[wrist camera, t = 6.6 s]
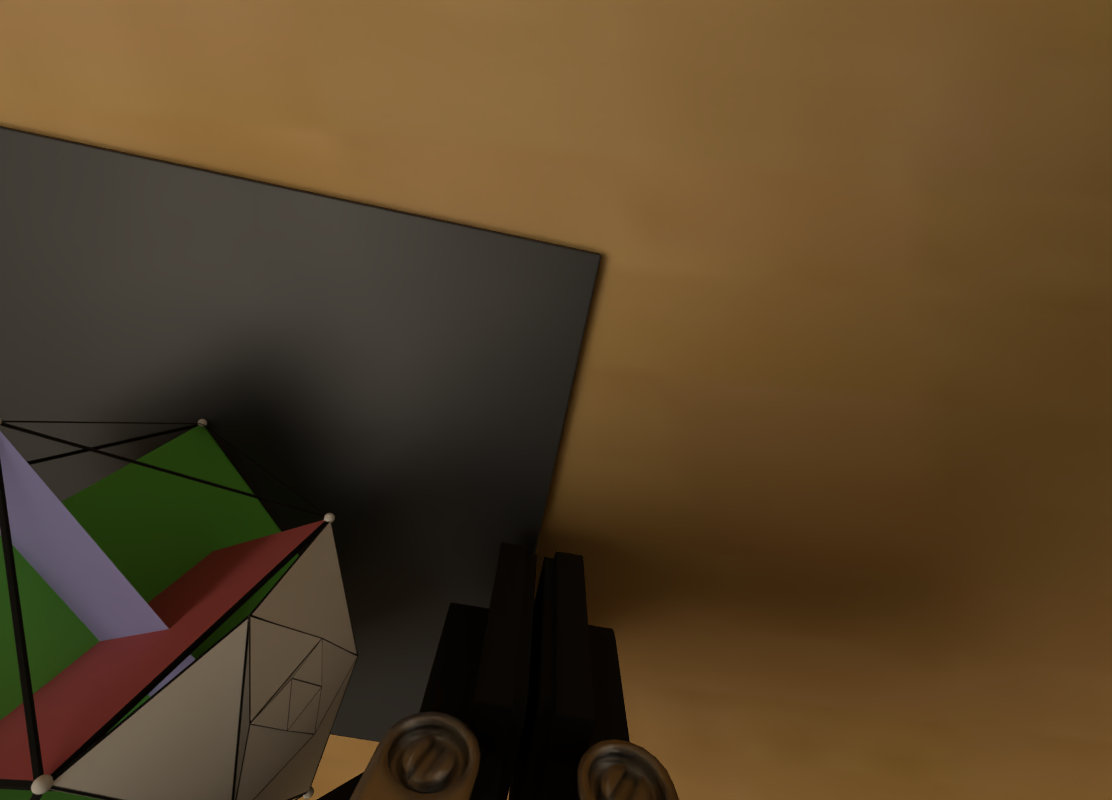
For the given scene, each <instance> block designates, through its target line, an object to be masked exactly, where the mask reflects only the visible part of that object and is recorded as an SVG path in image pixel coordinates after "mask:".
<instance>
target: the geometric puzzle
mask: <svg viewBox="0 0 1112 800" xmlns="http://www.w3.org/2000/svg"><path fill="white" fill-rule="evenodd" d="M4 422H14V423H120V424H194V425H190V426H185V427H181V428H176V429H172V430H167V431H162V432H158V433H153V434H149V435H144V436H140V437H135V438H131V439H126V440H122V441H117V442H113V443H108V444H104V445H99V446H95V447H87V446H83V445H80V444H76V443H73V442H70V441H66V440H63V439H59V438H56V437H52V436H49V435H45V434H42V433H38V432H35V431H31V430H28V429H24V428H21V427H17V426H14V425H10V424H7V423H4ZM206 425H207V421H206V420H205V419H200V420H199V421H198V423H154V422H76V421H1V419H0V426H4V427H7V428H11V429H14V430H18V431H21V432H25V433H28V434H32V435H35V436H39V437H42V438H46V439H49V440H53V441H57V442H60V443H64V444H67V445H71V446H74V447H78V448H81V450H77V451H72V452H68V453H63V454H59V455H54V456H50V457H45V458H41V459H36V460H32V461H27V462H26V461H25V459H24V458H23V457H22V456H21V455H20V453H19V452H18V451H17V450H16V449H15V448H14V446H13V445H12V444H11V443H10V442H9V441H8V439H7V438H6V437H5V436H4V435H3V434H2V432H1V431H0V800H293V799H295V798H297V799H299V798H301V797H302V796H303V797H304V798H305V799H309V798H311V797H312V795H313V793H314V789H313V788H312V787H311V785H312V782H313V780H314V777H315V774H316V771H317V769H318V766H319V763H320V760H321V758H322V755H323V752H324V749H325V747H326V744H327V741H328V738H329V736H330V733H331V730H332V727H333V724H334V722H335V719H336V716H337V713H338V711H339V708H340V705H341V702H342V700H343V697H344V694H345V691H346V689H347V686H348V683H349V680H350V678H351V675H352V672H353V669H354V667H355V664H356V661H357V658H358V652H357V647H356V641H355V636H354V631H353V626H352V621H351V616H350V611H349V606H348V601H347V596H346V591H345V586H344V581H343V576H342V571H341V566H340V561H339V556H338V551H337V546H336V541H335V536H334V531H333V526H332V522H333V521H334V519H335V516H334V515H333V514H332V513H327V514H325V513H324V512H322V511H321V510H320V509H318V508H317V507H316V506H314V505H313V504H311V503H310V502H309V501H307V500H306V499H305V498H303V497H302V496H301V495H299V494H298V493H297V492H295V491H294V490H292V489H291V488H290V487H288V486H287V485H286V484H284V483H283V482H282V481H280V480H279V479H278V478H276V477H275V476H273V475H272V474H271V473H269V472H268V471H267V470H265V469H264V468H263V467H261V466H260V465H259V464H257V463H256V462H254V461H253V460H252V459H250V458H249V457H248V456H246V455H245V454H244V453H242V452H241V451H240V450H238V449H237V448H235V447H234V446H233V445H231V444H230V443H229V442H227V441H226V440H225V439H223V438H222V437H221V436H219V435H218V434H216V433H215V432H214V431H212V430H211V429H210V428H208V427H207V426H206ZM191 428H193V429H191ZM207 428H208V429H209V430H210V431H212V432H213V433H214V434H216V435H217V436H218V437H220V438H221V439H223V440H224V441H225V442H227V443H228V444H229V445H231V446H232V447H233V448H235V449H236V450H237V451H239V452H240V453H241V454H243V455H244V456H246V457H247V458H248V459H250V460H251V461H252V462H254V463H255V464H256V465H258V466H259V467H260V468H262V469H263V470H264V471H266V472H267V473H269V474H270V475H271V476H273V477H274V478H275V479H277V480H278V481H279V482H281V483H282V484H283V485H285V486H286V487H287V488H289V489H290V490H292V491H293V492H294V493H296V494H297V495H298V496H300V497H301V498H302V499H304V500H305V501H306V502H308V503H309V504H310V505H312V506H313V507H315V508H316V509H317V510H319V511H320V512H321V513H323V514H324V515H323V514H320V513H316V512H313V511H309V510H306V509H302V508H299V507H295V506H292V505H288V504H285V503H282V502H278V501H275V500H271V499H268V498H264V497H261V496H257V495H255V493H254V492H253V491H252V489H251V488H250V487H249V485H248V484H247V483H246V481H245V480H244V478H243V477H242V476H241V474H240V473H239V472H238V470H237V469H236V468H235V466H234V465H233V463H232V462H231V461H230V459H229V458H228V457H227V455H226V454H225V452H224V451H223V450H222V448H221V447H220V446H219V444H218V443H217V442H216V440H215V439H214V437H213V436H212V435H211V433H210V432H209V431H208V429H207ZM187 429H191V430H189V431H187V432H186V433H184V434H182V435H180V436H178V437H177V438H175V439H173V440H171V441H169V442H168V443H166V444H164V445H162V446H161V447H159V448H157V449H155V450H153V451H152V452H150V453H148V454H146V455H144V456H143V457H141V458H139V459H137V460H132V459H129V458H125V457H122V456H118V455H115V454H111V453H108V452H104V451H101V450H98V449H102V448H107V447H111V446H116V445H120V444H125V443H129V442H134V441H138V440H142V439H147V438H151V437H156V436H160V435H165V434H169V433H174V432H178V431H183V430H187ZM89 451H92V452H95V453H99V454H102V455H106V456H109V457H113V458H116V459H120V460H123V461H127V462H130V464H128V465H127V466H125V467H123V468H121V469H119V470H118V471H116V472H114V473H112V474H110V475H109V476H107V477H105V478H103V479H101V480H100V481H98V482H96V483H94V484H93V485H91V486H89V487H87V488H85V489H84V490H82V491H80V492H78V493H76V494H75V495H73V496H71V497H69V498H67V499H66V500H64V501H62V502H60V500H59V499H58V498H57V497H56V496H55V495H54V493H53V492H52V491H51V490H50V489H49V488H48V486H47V485H46V484H45V483H44V482H43V480H42V479H41V478H40V477H39V476H38V475H37V473H36V472H35V471H34V470H33V469H32V468H31V466H30V465H31V464H36V463H40V462H44V461H49V460H53V459H58V458H62V457H67V456H71V455H76V454H80V453H85V452H89ZM259 499H260V500H263V501H267V502H270V503H274V504H277V505H281V506H284V507H288V508H292V509H295V510H299V511H302V512H306V513H309V514H313V515H316V516H320V517H323V518H324V520H321V521H318V522H314V523H311V524H307V525H304V526H300V527H297V528H293V529H290V530H286V531H283V532H282V530H281V529H280V528H279V526H278V525H277V524H276V522H275V521H274V519H273V518H272V517H271V515H270V514H269V513H268V511H267V510H266V509H265V507H264V506H263V504H262V503H261V502H260V500H259ZM312 539H313V540H312ZM311 540H312V541H311ZM310 541H311V542H310ZM309 542H310V543H309ZM308 543H309V544H308ZM307 544H308V546H307V547H306V548H305V549H304V550H303V551H302V553H301V554H300V555H299V554H298V553H299V552H300V551H301V550H302V549H303V548H304V547H305V546H306V545H307ZM298 797H299V798H298ZM297 799H295V800H297Z"/></svg>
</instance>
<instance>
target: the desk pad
mask: <svg viewBox="0 0 1112 800" xmlns="http://www.w3.org/2000/svg"><path fill="white" fill-rule="evenodd" d="M600 260H601V255H600V254H599V253H595V252H590V251H585V250H581V249H576V248H571V247H566V246H562V245H557V244H552V243H548V242H543V241H538V240H534V239H529V238H524V237H519V236H515V235H510V234H505V233H501V232H496V231H491V230H487V229H482V228H477V227H472V226H468V225H463V224H458V223H454V222H449V221H444V220H440V219H435V218H430V217H425V216H421V215H416V214H411V213H407V212H402V211H397V210H393V209H388V208H383V207H378V206H374V205H369V204H364V203H360V202H355V201H350V200H346V199H341V198H336V197H331V196H327V195H322V194H317V193H313V192H308V191H303V190H299V189H294V188H289V187H284V186H280V185H275V184H270V183H266V182H261V181H256V180H252V179H247V178H242V177H237V176H233V175H228V174H223V173H219V172H214V171H209V170H205V169H200V168H195V167H190V166H186V165H181V164H176V163H172V162H167V161H162V160H158V159H153V158H148V157H143V156H139V155H134V154H129V153H125V152H120V151H115V150H111V149H106V148H101V147H96V146H92V145H87V144H82V143H78V142H73V141H68V140H64V139H59V138H54V137H49V136H45V135H40V134H35V133H31V132H26V131H21V130H17V129H12V128H7V127H3V126H0V419H1V421H76V422H154V423H198V421H199V420H200V419H205V420H206V421H207V425H206V426H207V427H208V428H210V429H211V430H212V431H214V432H215V433H216V434H218V435H219V436H221V437H222V438H223V439H225V440H226V441H227V442H229V443H230V444H231V445H233V446H234V447H235V448H237V449H238V450H240V451H241V452H242V453H244V454H245V455H246V456H248V457H249V458H250V459H252V460H253V461H254V462H256V463H257V464H259V465H260V466H261V467H263V468H264V469H265V470H267V471H268V472H269V473H271V474H272V475H273V476H275V477H276V478H278V479H279V480H280V481H282V482H283V483H284V484H286V485H287V486H288V487H290V488H291V489H292V490H294V491H295V492H297V493H298V494H299V495H301V496H302V497H303V498H305V499H306V500H307V501H309V502H310V503H311V504H313V505H314V506H316V507H317V508H318V509H320V510H321V511H322V512H324V513H325V514H327V513H332V514H333V515H334V516H335V519H334V521H333V522H332V526H333V531H334V536H335V541H336V546H337V551H338V556H339V561H340V566H341V571H342V576H343V581H344V586H345V591H346V596H347V601H348V606H349V611H350V616H351V621H352V626H353V631H354V636H355V641H356V647H357V652H358V658H357V661H356V664H355V667H354V669H353V672H352V675H351V678H350V680H349V683H348V686H347V689H346V691H345V694H344V697H343V700H342V702H341V705H340V708H339V711H338V713H337V716H336V719H335V722H334V724H333V727H332V730H331V733H330V734H332V735H339V736H345V737H351V738H358V739H364V740H370V741H376V742H380V741H381V739H382V738H383V737H384V735H385V734H386V733H387V731H388V730H389V729H390V728H391V727H392V726H393V725H395V724H396V723H397V722H399V721H400V720H401V719H403V718H405V717H408V716H410V715H413V714H416V713H419V711H420V708H421V704H422V701H423V697H424V694H425V690H426V687H427V683H428V680H429V676H430V672H431V669H432V665H433V662H434V658H435V655H436V651H437V648H438V644H439V641H440V637H441V633H442V630H443V626H444V623H445V619H446V616H447V612H448V609H449V606H450V603H451V602H452V603H458V604H465V605H471V606H477V607H483V608H489V606H490V601H491V596H492V590H493V585H494V580H495V574H496V569H497V564H498V558H499V553H500V548H501V542H504V543H510V544H516V545H521V546H527V547H528V549H527V554H531V555H535V551H536V547H537V542H538V538H539V533H540V529H541V524H542V520H543V515H544V511H545V506H546V502H547V497H548V493H549V488H550V484H551V479H552V475H553V470H554V466H555V461H556V457H557V453H558V448H559V444H560V439H561V435H562V430H563V426H564V421H565V417H566V412H567V408H568V403H569V399H570V394H571V390H572V385H573V381H574V376H575V372H576V367H577V363H578V358H579V354H580V349H581V345H582V340H583V336H584V331H585V327H586V322H587V318H588V313H589V309H590V304H591V300H592V295H593V291H594V286H595V282H596V277H597V273H598V268H599V264H600ZM4 423H7V424H10V425H14V426H17V427H21V428H24V429H28V430H31V431H35V432H38V433H42V434H45V435H49V436H52V437H56V438H59V439H63V440H66V441H70V442H73V443H76V444H80V445H83V446H87V447H95V446H99V445H104V444H108V443H113V442H117V441H122V440H126V439H131V438H135V437H140V436H144V435H149V434H153V433H158V432H162V431H167V430H172V429H176V428H181V427H185V426H190V425H194V424H120V423H14V422H4ZM208 428H207V429H208ZM191 429H193V428H191ZM191 429H187V430H183V431H178V432H174V433H169V434H165V435H160V436H156V437H151V438H147V439H142V440H138V441H134V442H129V443H125V444H120V445H116V446H111V447H107V448H102V449H98V450H101V451H104V452H108V453H111V454H115V455H118V456H122V457H125V458H129V459H132V460H137V459H139V458H141V457H143V456H144V455H146V454H148V453H150V452H152V451H153V450H155V449H157V448H159V447H161V446H162V445H164V444H166V443H168V442H169V441H171V440H173V439H175V438H177V437H178V436H180V435H182V434H184V433H186V432H187V431H189V430H191ZM0 431H1V432H2V434H3V435H4V436H5V437H6V438H7V439H8V441H9V442H10V443H11V444H12V445H13V446H14V448H15V449H16V450H17V451H18V452H19V453H20V455H21V456H22V457H23V458H24V459H25V461H26V462H27V461H32V460H36V459H41V458H45V457H50V456H54V455H59V454H63V453H68V452H72V451H77V450H81V448H78V447H74V446H71V445H67V444H64V443H60V442H57V441H53V440H49V439H46V438H42V437H39V436H35V435H32V434H28V433H25V432H21V431H18V430H14V429H11V428H7V427H4V426H0ZM208 431H209V432H210V433H211V435H212V436H213V437H214V439H215V440H216V442H217V443H218V444H219V446H220V447H221V448H222V450H223V451H224V452H225V454H226V455H227V457H228V458H229V459H230V461H231V462H232V463H233V465H234V466H235V468H236V469H237V470H238V472H239V473H240V474H241V476H242V477H243V478H244V480H245V481H246V483H247V484H248V485H249V487H250V488H251V489H252V491H253V492H254V493H255V495H257V496H261V497H264V498H268V499H271V500H275V501H278V502H282V503H285V504H288V505H292V506H295V507H299V508H302V509H306V510H309V511H313V512H316V513H320V514H323V513H321V512H320V511H319V510H317V509H316V508H315V507H313V506H312V505H310V504H309V503H308V502H306V501H305V500H304V499H302V498H301V497H300V496H298V495H297V494H296V493H294V492H293V491H292V490H290V489H289V488H287V487H286V486H285V485H283V484H282V483H281V482H279V481H278V480H277V479H275V478H274V477H273V476H271V475H270V474H269V473H267V472H266V471H264V470H263V469H262V468H260V467H259V466H258V465H256V464H255V463H254V462H252V461H251V460H250V459H248V458H247V457H246V456H244V455H243V454H241V453H240V452H239V451H237V450H236V449H235V448H233V447H232V446H231V445H229V444H228V443H227V442H225V441H224V440H223V439H221V438H220V437H218V436H217V435H216V434H214V433H213V432H212V431H210V430H209V429H208ZM128 464H130V462H127V461H123V460H120V459H116V458H113V457H109V456H106V455H102V454H99V453H95V452H92V451H89V452H85V453H80V454H76V455H71V456H67V457H62V458H58V459H53V460H49V461H44V462H40V463H36V464H31V465H30V466H31V468H32V469H33V470H34V471H35V472H36V473H37V475H38V476H39V477H40V478H41V479H42V480H43V482H44V483H45V484H46V485H47V486H48V488H49V489H50V490H51V491H52V492H53V493H54V495H55V496H56V497H57V498H58V499H59V500H60V502H62V501H64V500H66V499H67V498H69V497H71V496H73V495H75V494H76V493H78V492H80V491H82V490H84V489H85V488H87V487H89V486H91V485H93V484H94V483H96V482H98V481H100V480H101V479H103V478H105V477H107V476H109V475H110V474H112V473H114V472H116V471H118V470H119V469H121V468H123V467H125V466H127V465H128ZM259 500H260V499H259ZM260 502H261V503H262V504H263V506H264V507H265V509H266V510H267V511H268V513H269V514H270V515H271V517H272V518H273V519H274V521H275V522H276V524H277V525H278V526H279V528H280V529H281V530H282V532H283V531H286V530H290V529H293V528H297V527H300V526H304V525H307V524H311V523H314V522H318V521H321V520H324V518H323V517H320V516H316V515H313V514H309V513H306V512H302V511H299V510H295V509H292V508H288V507H284V506H281V505H277V504H274V503H270V502H267V501H263V500H260ZM323 515H324V514H323ZM312 540H313V539H312ZM312 540H311V541H312ZM311 541H310V542H311ZM310 542H309V543H310ZM309 543H308V544H309ZM308 544H307V545H306V546H305V547H304V548H303V549H302V550H301V551H300V552H299V553H298V554H299V555H300V554H301V553H302V551H303V550H304V549H305V548H306V547H307V546H308Z"/></svg>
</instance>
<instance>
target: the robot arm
mask: <svg viewBox="0 0 1112 800" xmlns="http://www.w3.org/2000/svg"><path fill="white" fill-rule="evenodd" d="M527 549H528V547H527V546H521V545H516V544H510V543H504V542H501V548H500V553H499V558H498V564H497V569H496V574H495V580H494V585H493V590H492V596H491V601H490V606H489V608H483V607H477V606H471V605H465V604H458V603H452V602H451V603H450V606H449V609H448V612H447V616H446V619H445V623H444V626H443V630H442V633H441V637H440V641H439V644H438V648H437V651H436V655H435V658H434V662H433V665H432V669H431V672H430V676H429V680H428V683H427V687H426V690H425V694H424V697H423V701H422V704H421V708H420V711H419V713H416V714H413V715H410V716H408V717H405V718H403V719H401V720H400V721H399V722H397V723H396V724H395V725H393V726H392V727H391V728H390V729H389V730H388V731H387V733H386V734H385V735H384V737H383V738H382V739H381V741H380V743H379V745H378V747H377V748H376V750H375V752H374V754H373V756H372V758H371V760H370V762H369V764H368V766H367V767H366V769H365V771H364V772H363V773H361V774H360V775H358V776H356V777H354V778H353V779H351V780H349V781H348V782H346V783H344V784H343V785H341V786H339V787H337V788H336V789H334V790H332V791H331V792H329V793H327V794H326V795H324V796H322V797H321V798H319V799H317V800H507V796H508V792H509V800H679V798H678V795H677V792H676V789H675V787H674V784H673V782H672V780H671V778H670V776H669V774H668V772H667V770H666V769H665V767H664V766H663V765H662V764H661V763H660V762H659V760H658V759H657V758H656V757H655V756H653V755H652V754H651V753H649V752H648V751H647V750H645V749H644V748H642V747H640V746H638V745H636V744H633V743H631V742H630V741H629V734H628V727H627V719H626V712H625V705H624V697H623V690H622V683H621V676H620V668H619V661H618V654H617V646H616V639H615V634H614V631H613V629H611V628H605V627H599V626H593V625H588V618H587V605H586V591H585V578H584V564H583V556H580V555H574V554H568V553H562V552H557V551H556V553H555V556H554V558H549V557H545V558H544V561H543V565H542V570H541V575H540V579H539V584H538V589H537V593H536V598H535V602H534V593H535V577H536V561H537V555H531V554H527ZM509 788H510V789H509Z"/></svg>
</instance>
